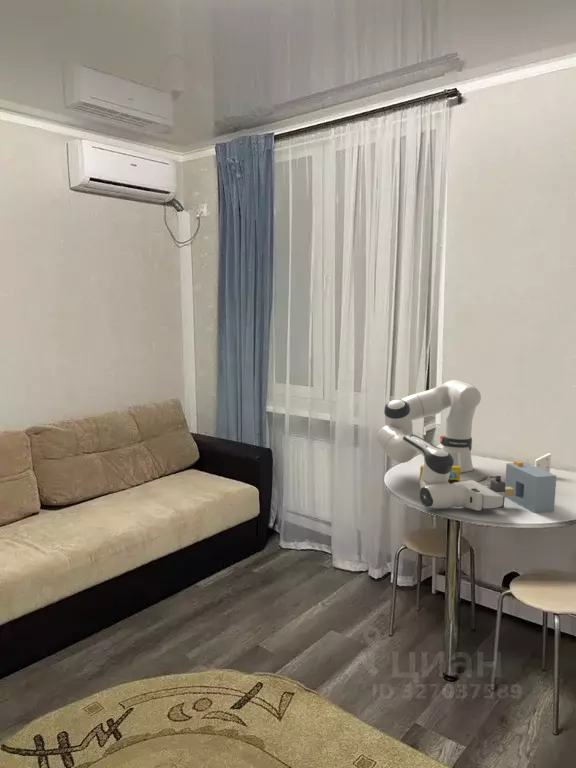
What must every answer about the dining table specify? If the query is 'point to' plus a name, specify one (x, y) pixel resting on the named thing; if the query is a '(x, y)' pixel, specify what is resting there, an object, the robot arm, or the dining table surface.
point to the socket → (531, 486)
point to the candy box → (453, 475)
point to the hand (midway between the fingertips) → (499, 491)
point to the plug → (501, 487)
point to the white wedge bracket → (544, 462)
